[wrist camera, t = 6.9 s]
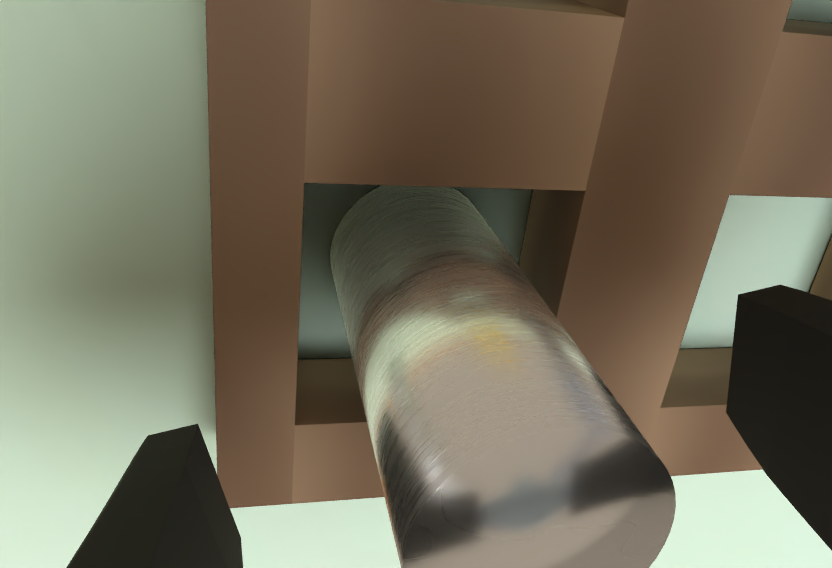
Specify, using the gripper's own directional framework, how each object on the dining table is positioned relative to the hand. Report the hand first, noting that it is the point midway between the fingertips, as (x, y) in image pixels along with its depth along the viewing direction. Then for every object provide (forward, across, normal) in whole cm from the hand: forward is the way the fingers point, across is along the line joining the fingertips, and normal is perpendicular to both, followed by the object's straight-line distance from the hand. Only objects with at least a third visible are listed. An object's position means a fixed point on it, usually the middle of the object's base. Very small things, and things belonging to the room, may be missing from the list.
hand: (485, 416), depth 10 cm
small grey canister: (+5, 0, 0) cm, 5 cm away
